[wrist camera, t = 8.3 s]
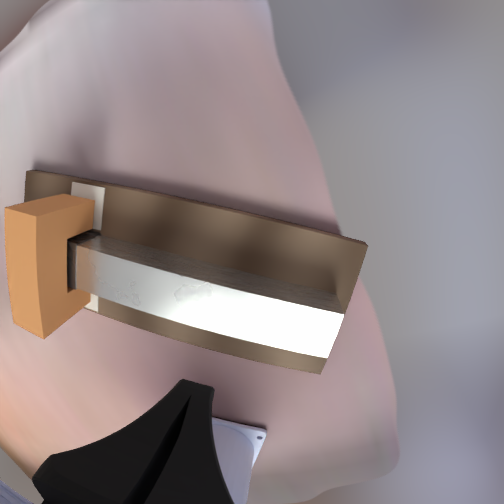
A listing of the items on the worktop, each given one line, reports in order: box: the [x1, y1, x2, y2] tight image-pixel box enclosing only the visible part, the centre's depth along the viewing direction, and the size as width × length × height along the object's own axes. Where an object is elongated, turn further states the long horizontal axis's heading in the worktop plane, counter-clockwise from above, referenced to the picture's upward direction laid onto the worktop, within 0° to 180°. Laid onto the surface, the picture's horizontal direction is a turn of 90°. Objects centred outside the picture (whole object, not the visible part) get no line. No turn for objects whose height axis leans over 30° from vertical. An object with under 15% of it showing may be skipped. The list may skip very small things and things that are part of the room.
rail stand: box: [24, 170, 368, 374], centre depth 19 cm, size 26×10×4 cm, turn 78°
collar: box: [5, 194, 95, 339], centre depth 17 cm, size 3×8×6 cm, turn 168°
